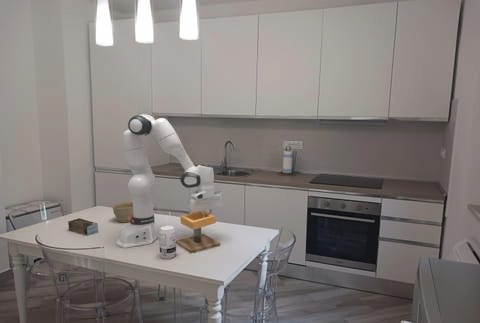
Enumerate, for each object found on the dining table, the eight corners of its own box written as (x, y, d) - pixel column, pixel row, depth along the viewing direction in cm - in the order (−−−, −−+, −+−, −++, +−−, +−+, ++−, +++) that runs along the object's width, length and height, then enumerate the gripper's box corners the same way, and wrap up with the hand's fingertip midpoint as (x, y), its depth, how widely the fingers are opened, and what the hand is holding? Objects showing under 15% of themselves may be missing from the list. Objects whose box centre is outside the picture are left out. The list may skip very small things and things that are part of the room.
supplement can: (161, 253, 178) (160, 225, 176) (177, 252, 179) (176, 224, 177) (158, 259, 170) (157, 230, 168) (175, 259, 171) (174, 230, 169)
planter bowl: (116, 217, 240) (115, 202, 239) (140, 216, 242) (139, 201, 241) (110, 224, 224) (109, 208, 223) (135, 223, 226) (135, 207, 225)
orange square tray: (193, 229, 179) (192, 222, 179) (180, 223, 190) (180, 216, 190) (215, 223, 187) (215, 216, 187) (202, 217, 198) (202, 210, 198)
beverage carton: (87, 236, 203) (86, 225, 203) (68, 230, 213) (67, 220, 212) (98, 232, 210) (98, 222, 209) (79, 227, 220) (79, 217, 219)
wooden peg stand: (191, 253, 178) (190, 235, 177) (175, 242, 192) (175, 226, 191) (220, 245, 189) (219, 228, 187) (203, 236, 203) (203, 220, 202)
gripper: (219, 189, 199) (219, 212, 201) (187, 194, 187) (188, 219, 189) (225, 191, 194) (225, 215, 196) (193, 196, 182) (193, 222, 184)
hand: (207, 217), depth 192 cm, fingers closed on orange square tray, 2 cm apart
